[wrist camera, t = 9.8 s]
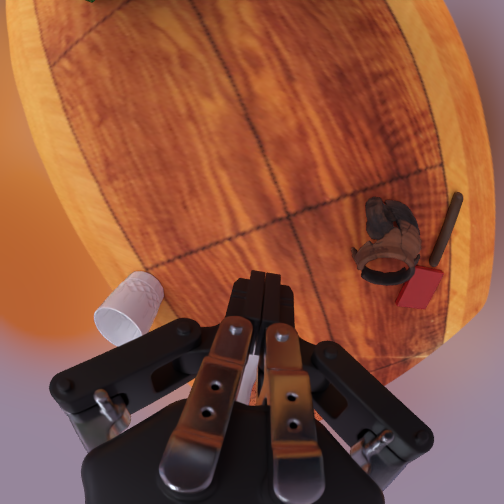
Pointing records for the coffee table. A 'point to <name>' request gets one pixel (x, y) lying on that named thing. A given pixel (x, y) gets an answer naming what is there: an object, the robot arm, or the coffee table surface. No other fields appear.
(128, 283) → the white cup
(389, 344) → the coffee table surface
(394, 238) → the dark brown curved piece
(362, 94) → the coffee table surface
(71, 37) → the coffee table surface
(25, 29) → the coffee table surface
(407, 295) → the spatula
